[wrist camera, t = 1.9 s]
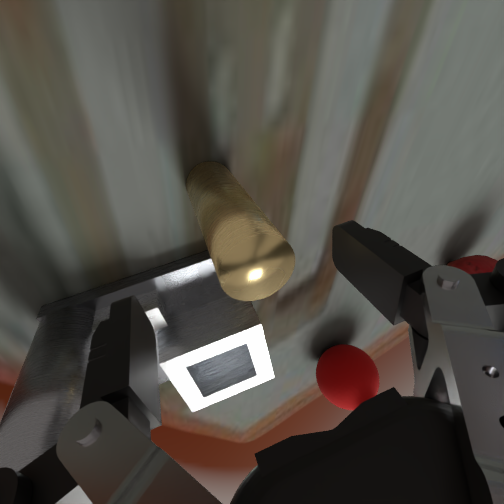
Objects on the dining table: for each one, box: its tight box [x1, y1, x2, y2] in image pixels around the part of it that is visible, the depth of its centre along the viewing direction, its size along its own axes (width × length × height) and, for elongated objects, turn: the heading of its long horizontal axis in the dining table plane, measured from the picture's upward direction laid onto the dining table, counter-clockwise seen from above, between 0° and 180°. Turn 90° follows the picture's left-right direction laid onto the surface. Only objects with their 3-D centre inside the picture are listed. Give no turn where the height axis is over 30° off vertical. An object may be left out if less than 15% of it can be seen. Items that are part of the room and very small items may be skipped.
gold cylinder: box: [186, 161, 295, 301], centre depth 15 cm, size 3×3×10 cm
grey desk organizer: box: [0, 250, 274, 472], centre depth 20 cm, size 15×12×11 cm
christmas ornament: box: [316, 344, 379, 410], centre depth 32 cm, size 7×7×10 cm
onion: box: [447, 255, 498, 274], centre depth 30 cm, size 6×6×8 cm
